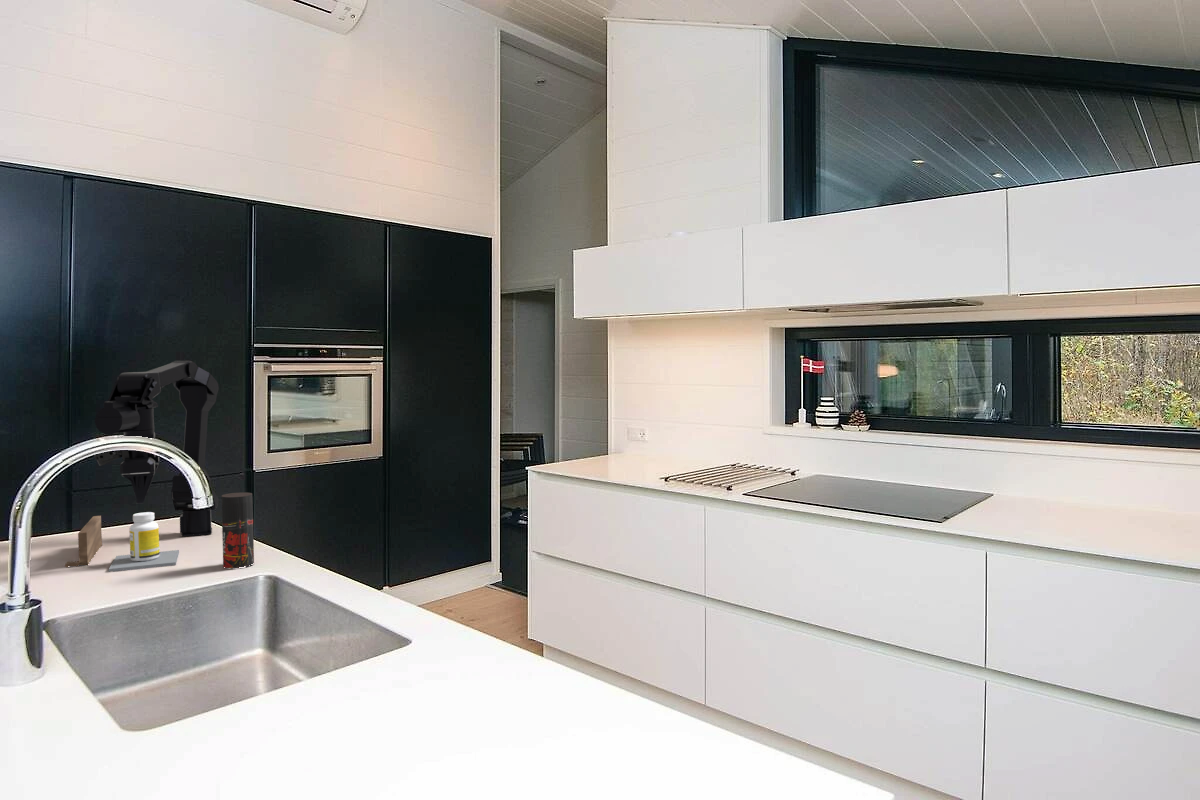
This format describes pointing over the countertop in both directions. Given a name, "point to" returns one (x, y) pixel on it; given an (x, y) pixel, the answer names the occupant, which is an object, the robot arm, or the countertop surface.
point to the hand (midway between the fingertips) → (142, 499)
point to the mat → (127, 564)
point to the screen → (88, 542)
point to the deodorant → (237, 529)
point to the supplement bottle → (144, 537)
